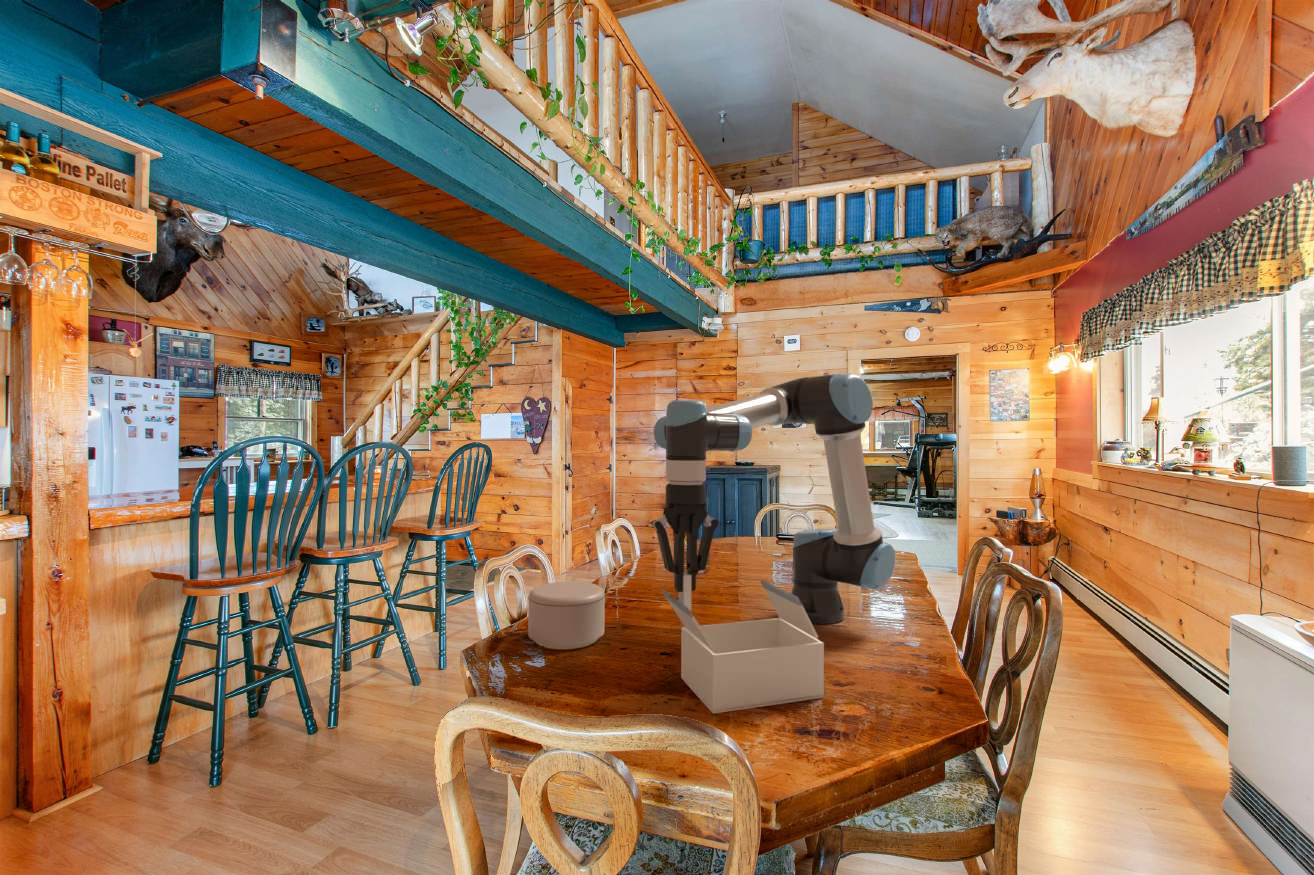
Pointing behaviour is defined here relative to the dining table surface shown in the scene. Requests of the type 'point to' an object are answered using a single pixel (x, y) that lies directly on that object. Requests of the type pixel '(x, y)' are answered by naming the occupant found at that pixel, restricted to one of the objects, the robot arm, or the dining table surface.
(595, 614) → the container
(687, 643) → the carton
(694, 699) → the dining table surface
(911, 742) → the dining table surface
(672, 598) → the flap
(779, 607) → the flap
